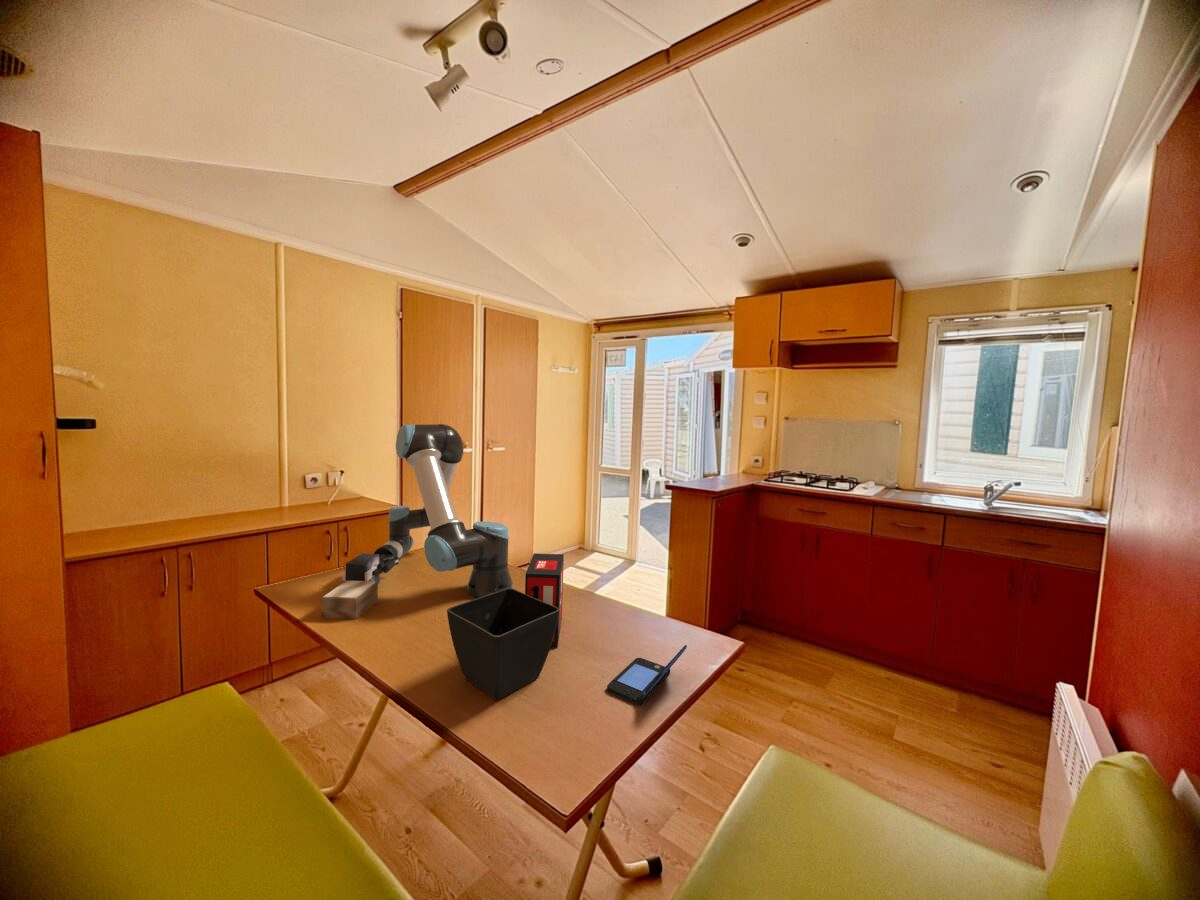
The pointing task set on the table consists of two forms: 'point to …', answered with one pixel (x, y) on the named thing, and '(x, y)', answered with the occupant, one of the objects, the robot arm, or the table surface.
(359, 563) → the small box
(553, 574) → the cleaning product box
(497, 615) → the flower pot
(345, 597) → the base
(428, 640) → the table surface
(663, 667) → the black walkie-talkie
